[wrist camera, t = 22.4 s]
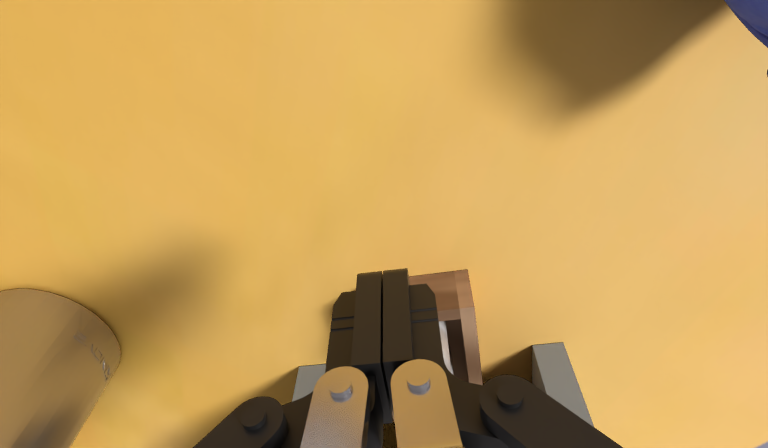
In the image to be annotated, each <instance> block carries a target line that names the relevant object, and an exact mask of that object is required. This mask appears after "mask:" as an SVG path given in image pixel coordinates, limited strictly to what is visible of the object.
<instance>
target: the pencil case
mask: <svg viewBox="0 0 768 448" xmlns="http://www.w3.org/2000/svg"><path fill="white" fill-rule="evenodd" d="M724 1H725V2H726V3H727V5H728V6H729V7H730V9H731V10H732V11H733V12H734V14H735V15H736V16H737V17H738V19H739V20H740V21H741V22H742V23H743V24H744V25H745V27H746V28H747V29H748V30H749V31H750V32H751V33H752V34H753V35H754V36H755V37H756V38H757V39H758V40H760V41H761V42H762V43H763V44H764V45H765V46H766V47H767V48H768V0H724ZM767 76H768V70H767Z"/></svg>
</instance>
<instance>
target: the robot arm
mask: <svg viewBox="0 0 768 448" xmlns="http://www.w3.org/2000/svg"><path fill="white" fill-rule="evenodd" d="M120 356H121V352H120V347H119V343H118V341H117V339H116V337H115V335H114V333H113V332H112V331H111V330H110V328H109V327H108V326H107V325H106V323H104V322H103V321H102V320H101V319H100V318H99V317H98V316H97V315H95V314H94V313H93V312H91V311H90V310H88V309H86V308H85V307H83V306H82V305H80V304H78V303H76V302H74V301H72V300H70V299H68V298H65V297H62V296H59V295H56V294H53V293H50V292H45V291H40V290H34V289H12V290H4V291H1V292H0V448H70V447H71V445H72V444H73V442H74V440H75V438H76V437H77V435H78V433H79V432H80V430H81V428H82V427H83V425H84V423H85V421H86V420H87V418H88V416H89V415H90V413H91V411H92V410H93V408H94V406H95V405H96V403H97V401H98V399H99V398H100V396H101V394H102V393H103V391H104V389H105V387H106V386H107V384H108V382H109V381H110V379H111V377H112V376H113V374H114V372H115V370H116V369H117V367H118V365H119V363H120ZM392 410H393V415H394V420H395V429H396V438H397V448H623V447H621V446H620V445H619V444H617V443H616V442H614V441H613V440H611V439H610V438H609V437H607V436H606V435H604V434H603V433H601V432H600V431H599V430H597V429H596V428H594V427H593V426H592V425H590V424H589V423H587V422H586V421H584V420H583V419H582V418H580V417H579V416H577V415H576V414H574V413H573V412H572V411H570V410H569V409H567V408H566V407H565V406H563V405H562V404H560V403H559V402H557V401H556V400H555V399H553V398H552V397H550V396H549V395H547V394H546V393H545V392H543V391H542V390H540V389H539V388H538V387H536V386H535V385H533V384H532V383H530V382H529V381H527V380H526V379H524V378H521V377H518V376H514V375H500V376H496V377H494V378H492V379H490V380H488V381H487V382H486V383H485V384H484V385H479V384H474V383H469V382H465V381H463V380H460V379H459V378H457V377H455V376H454V375H453V374H452V373H451V372H450V371H449V370H448V369H447V367H446V365H445V363H444V358H443V350H442V343H441V335H440V328H439V321H438V313H437V305H436V298H435V294H434V292H433V291H432V290H431V289H430V287H429V286H428V285H427V284H416V285H410V283H409V276H408V270H407V268H405V269H396V270H387V271H383V274H382V271H379V272H370V273H361V274H358V275H357V285H356V291H352V292H343V293H341V295H340V296H339V298H338V299H337V301H336V302H335V304H334V306H333V314H332V322H331V332H330V338H329V345H328V353H327V361H326V369H325V374H323V375H322V376H321V377H320V378H319V380H318V381H317V383H316V385H315V387H314V391H312V392H311V393H310V394H308V395H306V396H305V397H303V398H300V399H298V400H295V401H293V402H290V403H288V404H285V405H282V406H281V404H280V403H279V402H278V401H277V400H275V399H274V398H271V397H265V396H264V397H256V398H252V399H250V400H248V401H246V402H244V403H242V404H241V405H240V406H238V407H237V408H236V409H235V410H234V411H233V412H232V413H231V414H229V415H228V416H227V417H226V418H225V419H224V420H223V421H222V422H221V423H220V424H218V425H217V426H216V427H215V428H214V429H213V430H212V431H211V432H210V433H209V434H208V435H206V436H205V437H204V438H203V439H202V440H201V441H200V442H199V443H198V444H197V445H195V446H194V447H193V448H383V424H388V423H393V418H392Z"/></svg>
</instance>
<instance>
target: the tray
mask: <svg viewBox="0 0 768 448" xmlns="http://www.w3.org/2000/svg"><path fill="white" fill-rule="evenodd" d="M409 283H410V285H416V284H427V285H428V286H429V287H430V289H431V290H432V291H433V292H434V294H435V298H436V305H437V313H438V321H439V328H440V335H441V343H442V350H443V358H444V363H445V365H446V367H447V369H448V370H449V371H450V372H451V373H452V374H453V375H454V376H455V377H457V378H459V379H460V380H463V381H465V382H469V383H474V384H479V385H483V382H482V373H481V364H480V354H479V345H478V336H477V326H476V317H475V308H474V302H473V297H472V291H471V286H470V280H469V275H468V270H460V271H452V272H444V273H435V274H427V275H419V276H411V277H409ZM392 415H393V410H392ZM393 419H394V415H393ZM394 423H395V420H394Z"/></svg>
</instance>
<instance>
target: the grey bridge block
mask: <svg viewBox="0 0 768 448" xmlns="http://www.w3.org/2000/svg"><path fill="white" fill-rule="evenodd" d="M325 369H326V364H321V365H310V366H299V370H298V375H297V379H296V384H295V389H294V394H293V399H292V402H293V401H295V400H298V399H300V398H303V397H305V396H306V395H308V394H310V393H311V392H312V391H314V387H315V385H316V383H317V381H318V380H319V378H320V377H321V376H322V375H323V374H325ZM532 384H533V385H535V386H536V387H538V388H539V389H540V390H542V391H543V392H545V393H546V394H547V395H549V396H550V397H552V398H553V399H555V400H556V401H557V402H559V403H560V404H562V405H563V406H565V407H566V408H567V409H569V410H570V411H572V412H573V413H574V414H576V415H577V416H579V417H580V418H582V419H583V420H584V421H586V422H587V423H589V424H590V425H592V426H593V427H594V425H593V422H592V420H591V417H590V414H589V412H588V409H587V406H586V403H585V401H584V398H583V395H582V392H581V390H580V387H579V384H578V382H577V379H576V376H575V373H574V371H573V368H572V365H571V362H570V360H569V357H568V354H567V352H566V349H565V346H564V343H552V344H541V345H532Z"/></svg>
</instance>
